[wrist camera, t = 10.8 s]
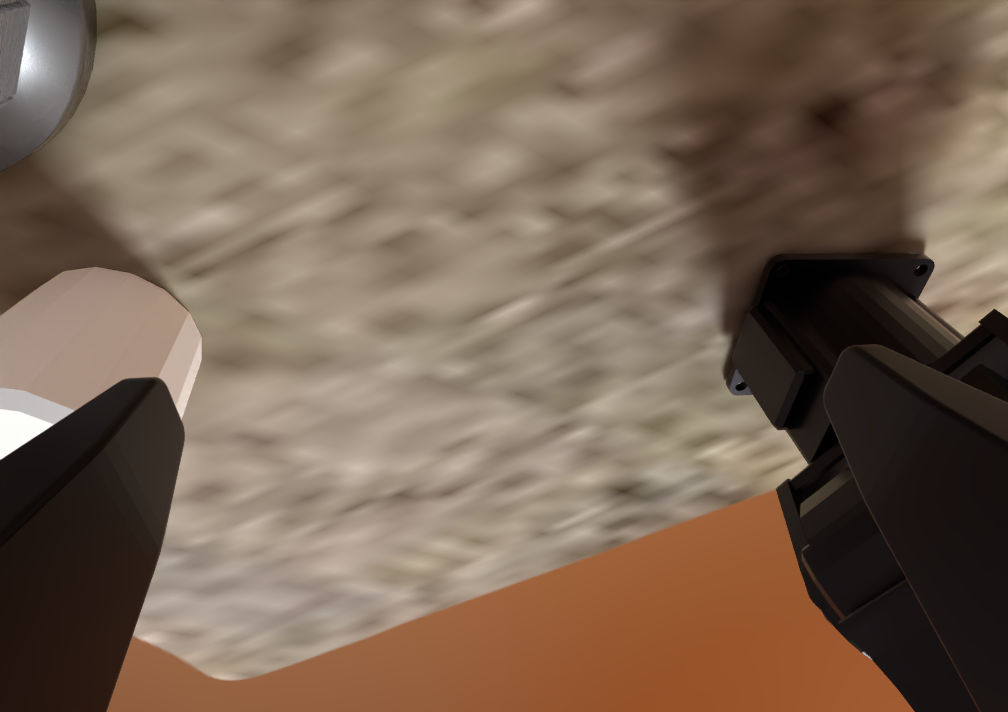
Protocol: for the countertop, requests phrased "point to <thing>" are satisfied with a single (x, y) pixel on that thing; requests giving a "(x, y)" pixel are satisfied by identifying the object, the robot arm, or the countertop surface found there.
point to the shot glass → (89, 347)
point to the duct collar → (42, 70)
